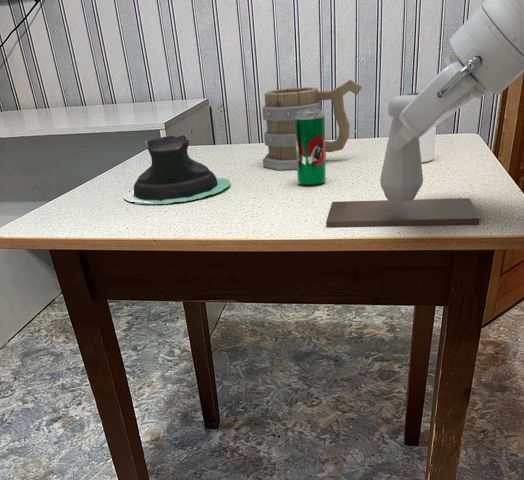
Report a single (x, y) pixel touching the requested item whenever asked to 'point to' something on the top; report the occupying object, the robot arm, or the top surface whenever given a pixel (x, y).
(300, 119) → the soda can
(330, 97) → the tankard
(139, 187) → the dark flared mound
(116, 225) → the top surface
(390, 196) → the salt shaker
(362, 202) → the dark brown board
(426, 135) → the can
